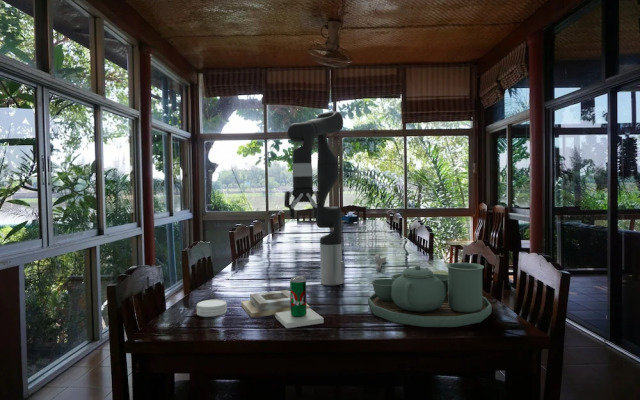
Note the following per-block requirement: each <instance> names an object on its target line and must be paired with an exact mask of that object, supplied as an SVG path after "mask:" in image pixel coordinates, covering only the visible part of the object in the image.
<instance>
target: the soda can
mask: <svg viewBox="0 0 640 400" xmlns="http://www.w3.org/2000/svg"><path fill="white" fill-rule="evenodd" d="M289 291H290V306H291V315H292V316H293V317H303V316H305V315H306V314H307V306H306V304H307V280H306V278H305V276H302V275H301V276H298V275H296V276H292V277H291V278H290V280H289Z"/></svg>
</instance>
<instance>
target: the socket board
mask: <svg viewBox="0 0 640 400" xmlns="http://www.w3.org/2000/svg"><path fill="white" fill-rule="evenodd" d="M249 299H250V300H244V301H243V300H241V301H240V302H241V307H242V308H243V309H244V310H245V312H246V313H247V314H248V315H249V316H250V317H251V318H252V319H253V318H260V317H267V316H275V313H278V312H285V311H291V306H290V290H288V289H284V290H275V291H266V292H258V293H249ZM306 306H307V309H308V308H310V305H309V304H308V303H306Z"/></svg>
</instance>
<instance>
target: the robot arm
mask: <svg viewBox="0 0 640 400" xmlns="http://www.w3.org/2000/svg"><path fill="white" fill-rule="evenodd" d="M343 128H344V118H343V116H342V114H341V113H340V112H339V111H327V112H320V113H318V114H317V116H316V118H313V119H312V118H311V119H309V120H306V121H300V122H293V123H291V124H290V125H289V126H288V128H287V137H288V139H289V140H290V141H292V142H295V143H299V142H303V144H302V145H301V146H298V147H296V148H294V149H293V150H292V151H293V152H292V191H288V190H286V191H284V204H283V205H284V208H287V209H289V210H288V211H289V218H291V219H293V220H294V219H295V216H296V214H295V207H296V206H297V204H299V203H308V204H310V206H311V207H312V208H311V217H312V219H315V222H316V226H317V228H319V229H333V231H331V232H330V233H329V234H326V235H322V236H320V238H319V246H320V247H319V253H320V255H319V256H320V264H319V265H320V284H322V285H324V286H337V285H341V284H344V283H345V272H344V271H345V270H344V266H345V264H344V260H343V256H342V254H343V253H342V251H343V250H342V220H343V219H342V217H343V216H342V209H341V207H340V206H325V204H326V200H327V197H328V196H329V193H330V192H331V190H332V189H333V187H334V185H335V184H336V183H337V180H338V178H339V161H338V158H337V156H336V155H335V153H334V152H333V150H332V148H331V147H330V145H329V143H328V137H327V135H328V134H333V133H339V132H341V130H342V129H343ZM316 138H317V167H316V169H317V171H316V172H317V173H316V174H317V178H316V179H317V190H313V189H314V187H313V186H314V184H313V182H314V180H313V178H314V177H313V176H314V175H313V166H312V152H313V146H314V143H315V139H316ZM313 195H314V197H315V200H314V198H313ZM291 197H293V199H292V201H291V203H290V199H291Z"/></svg>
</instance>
